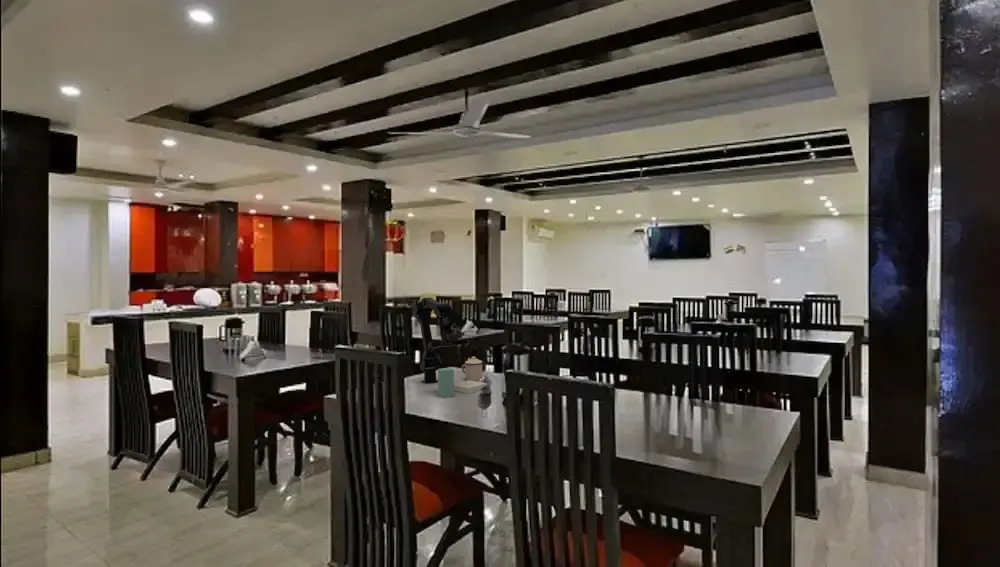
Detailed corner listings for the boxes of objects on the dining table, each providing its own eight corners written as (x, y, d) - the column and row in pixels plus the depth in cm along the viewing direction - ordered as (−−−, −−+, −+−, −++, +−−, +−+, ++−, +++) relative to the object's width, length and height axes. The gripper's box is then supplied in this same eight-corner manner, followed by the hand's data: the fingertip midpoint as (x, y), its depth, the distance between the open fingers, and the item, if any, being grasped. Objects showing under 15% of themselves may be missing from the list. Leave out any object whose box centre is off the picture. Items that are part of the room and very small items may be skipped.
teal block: (438, 395, 267) (437, 368, 267) (451, 394, 269) (450, 367, 269) (441, 397, 262) (440, 370, 262) (454, 396, 264) (453, 369, 264)
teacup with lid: (486, 378, 301) (486, 356, 301) (476, 382, 294) (475, 358, 293) (467, 376, 308) (467, 354, 307) (456, 379, 300) (456, 357, 300)
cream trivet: (450, 389, 278) (450, 384, 278) (469, 385, 287) (469, 380, 286) (468, 393, 270) (468, 387, 270) (487, 388, 278) (487, 383, 278)
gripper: (433, 326, 266) (439, 360, 262) (470, 323, 275) (476, 356, 271) (424, 332, 275) (430, 365, 271) (461, 329, 284) (466, 361, 280)
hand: (451, 362), depth 273 cm, fingers open, 9 cm apart
